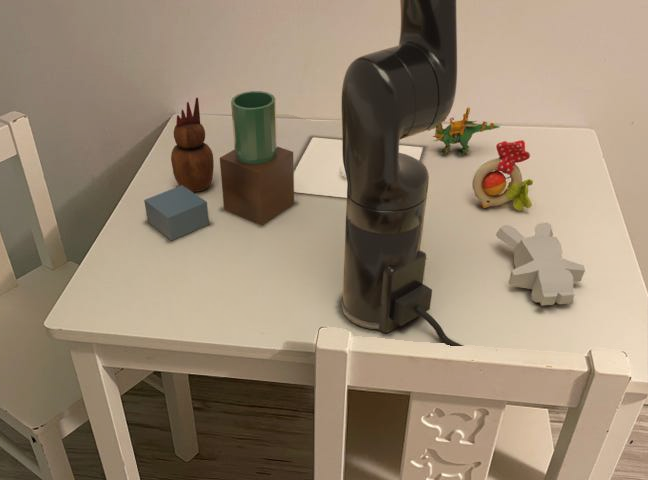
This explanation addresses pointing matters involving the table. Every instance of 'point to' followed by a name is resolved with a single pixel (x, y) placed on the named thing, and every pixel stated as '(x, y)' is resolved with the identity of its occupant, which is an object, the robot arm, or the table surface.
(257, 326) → the table surface
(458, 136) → the figurine
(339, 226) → the table surface
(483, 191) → the bird rattle
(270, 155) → the cup
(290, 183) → the walnut block
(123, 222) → the table surface
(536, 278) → the bunny figurine
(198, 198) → the slate block
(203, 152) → the wooden figurine
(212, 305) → the table surface
